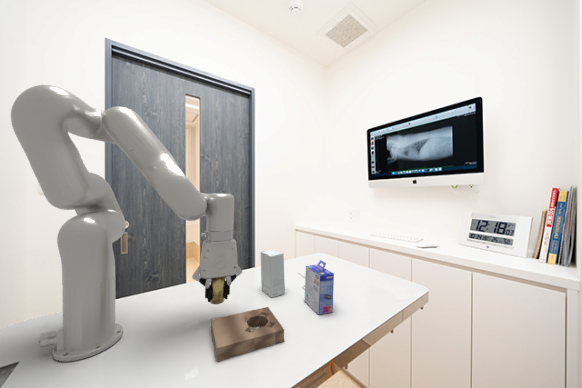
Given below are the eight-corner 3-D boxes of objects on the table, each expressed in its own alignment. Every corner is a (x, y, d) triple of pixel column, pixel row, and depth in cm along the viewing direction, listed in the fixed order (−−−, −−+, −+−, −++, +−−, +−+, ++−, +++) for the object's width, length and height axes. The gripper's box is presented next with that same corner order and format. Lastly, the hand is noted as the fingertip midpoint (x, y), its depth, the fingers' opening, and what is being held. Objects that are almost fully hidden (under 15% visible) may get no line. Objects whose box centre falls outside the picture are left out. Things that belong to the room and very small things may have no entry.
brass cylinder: (210, 305, 62) (211, 280, 62) (209, 299, 66) (210, 275, 66) (225, 302, 64) (226, 278, 64) (223, 296, 68) (224, 273, 68)
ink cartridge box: (334, 312, 70) (334, 265, 69) (318, 316, 67) (319, 268, 67) (318, 298, 79) (318, 257, 78) (304, 301, 76) (304, 258, 76)
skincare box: (285, 294, 81) (285, 253, 81) (270, 298, 78) (270, 255, 78) (273, 286, 88) (274, 248, 88) (259, 289, 85) (260, 250, 85)
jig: (216, 361, 49) (216, 348, 49) (210, 330, 60) (211, 319, 60) (284, 341, 56) (284, 329, 56) (267, 316, 67) (268, 306, 67)
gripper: (188, 239, 58) (185, 310, 58) (251, 236, 65) (248, 299, 65) (187, 234, 65) (185, 297, 65) (245, 232, 72) (242, 289, 72)
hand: (217, 298), depth 65 cm, fingers closed on brass cylinder, 4 cm apart
